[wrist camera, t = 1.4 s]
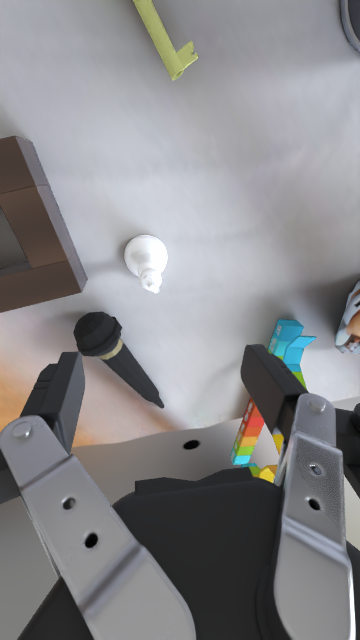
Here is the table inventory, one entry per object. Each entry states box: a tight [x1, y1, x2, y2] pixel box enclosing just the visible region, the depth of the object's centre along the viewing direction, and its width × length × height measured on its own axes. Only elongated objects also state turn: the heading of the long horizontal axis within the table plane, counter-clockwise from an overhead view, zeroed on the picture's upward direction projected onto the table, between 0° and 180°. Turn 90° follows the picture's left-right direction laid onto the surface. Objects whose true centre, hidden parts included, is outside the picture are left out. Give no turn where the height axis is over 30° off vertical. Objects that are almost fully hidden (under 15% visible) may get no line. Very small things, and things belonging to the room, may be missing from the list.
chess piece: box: [124, 235, 167, 294], centre depth 26 cm, size 5×5×10 cm
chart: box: [230, 319, 316, 482], centre depth 38 cm, size 30×3×15 cm, turn 172°
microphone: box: [73, 312, 164, 408], centre depth 35 cm, size 6×6×20 cm
